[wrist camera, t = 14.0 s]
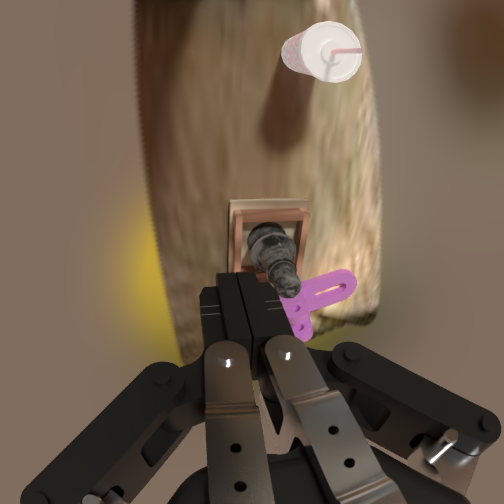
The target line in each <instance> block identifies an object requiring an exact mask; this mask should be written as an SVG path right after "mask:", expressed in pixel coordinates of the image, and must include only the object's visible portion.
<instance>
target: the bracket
mask: <svg viewBox="0 0 504 504" xmlns="http://www.w3.org/2000/svg"><path fill="white" fill-rule="evenodd" d="M341 283H343V284H342V286H340V287H338V288H336V289H333V290H330V291H327V292H324V293H321V294H319V295H315V293H317V292H318V291H321V290H324V289H327V288H330V287H333V286H336V285H338V284H341ZM356 285H357V280H356V278H355V277H354V275H353V274H352V272H351V271H349V270H347V269H339V270H336V271H333V272H330V273H327V274H324V275H321V276H318V277H315V278H312V279H309V280H306V281H303V282H301V290H300V292H299V293H298V295H296V296H295V297H294V298H289V299H287V298H282V297H280V296H279V297H280V301H281V302H282V305H283V309H284V310H285V312H286V315H287V317H288V320H289V322H290V325H291V327H292V330H293V332H294V335H295V337H297V338H299V339H300V340H301V341H303V342H306V341H308V340H309V339H310V338H311V337H312V335H313V328H312V324H311V322H310V319H309V316H310V312H311V311H314V310H317V309H319V308H322V307H325V306H328V305H331V304H333V303H336V302H339V301H342V300H344V299H346V298H348V297H349V296H350V295H351V294H352V293H353V292H354V290H355V288H356ZM299 330H302V331H299Z"/></svg>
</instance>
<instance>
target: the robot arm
mask: <svg viewBox="0 0 504 504" xmlns="http://www.w3.org/2000/svg"><path fill="white" fill-rule="evenodd" d="M199 299H200V314H201V327H202V336H203V345H204V351H203V354H202V355H201V356H200V358H199V359H197V360H196V361H195V362H193V363H191V364H189V365H186V366H183V367H180V368H179V367H178V366H177V365H175V364H173V363H169V362H156V363H153V364H151V365H149V366H148V367H146V368H145V369H144V370H143V371H142V372H141V373H140V374H139V375H138V376H137V377H136V378H135V379H134V380H133V381H132V382H131V383H130V384H129V385H128V386H127V387H126V388H125V389H124V390H123V391H122V392H121V393H120V394H119V395H118V396H117V397H116V398H115V399H114V400H113V401H112V402H111V403H110V404H109V405H108V406H107V407H106V408H105V409H104V410H103V411H102V412H101V413H100V414H99V415H98V416H97V417H96V418H95V419H94V420H93V421H92V422H91V423H90V424H89V425H88V426H87V427H86V428H85V429H84V430H83V431H82V432H81V433H80V434H79V435H78V436H77V437H76V438H75V439H74V440H73V441H72V442H71V443H70V444H69V445H68V446H67V447H66V448H65V449H64V450H63V451H62V452H61V453H60V454H59V455H58V456H57V457H56V458H55V459H54V460H53V461H52V462H51V463H50V464H49V465H48V466H47V467H46V468H45V469H44V470H43V471H42V472H41V473H40V474H39V475H38V476H37V477H36V478H35V479H34V480H33V481H32V482H31V483H30V484H29V485H27V486H26V488H25V489H24V490H23V492H22V494H21V498H20V504H130V503H131V502H132V501H133V499H134V498H135V497H136V496H137V495H138V494H139V492H140V491H141V490H142V489H143V488H144V487H145V485H146V484H147V483H148V482H149V480H150V479H151V478H152V477H153V476H154V475H155V473H156V472H157V471H158V470H159V469H160V467H161V466H162V465H163V464H164V462H165V461H166V460H167V459H168V458H169V456H170V455H171V454H172V453H173V451H174V450H175V449H176V448H177V447H178V445H179V444H180V443H181V442H182V440H183V439H184V438H185V436H186V435H187V434H188V433H189V431H190V430H191V428H192V426H195V425H197V424H200V423H202V422H205V424H206V447H207V466H206V467H204V468H202V469H200V470H198V471H196V472H195V473H193V474H192V475H190V476H189V477H188V478H187V479H186V480H185V481H184V482H183V483H182V484H181V485H180V487H179V488H178V489H177V491H176V492H175V493H174V495H173V496H172V497H171V499H170V500H169V502H168V503H167V504H471V503H470V502H469V500H468V499H467V498H466V497H465V494H466V492H467V489H468V487H469V484H470V481H471V479H472V476H473V473H474V471H475V468H476V465H477V462H478V459H479V456H480V454H481V453H482V452H484V451H485V450H486V449H487V448H488V447H489V446H491V445H492V444H493V443H494V442H495V441H496V440H497V439H498V438H499V436H500V433H501V424H500V421H499V420H498V418H497V416H496V415H495V414H494V413H492V412H491V411H489V410H487V409H485V408H483V407H481V406H479V405H476V404H475V403H473V402H470V401H469V400H466V399H464V398H462V397H460V396H458V395H456V394H454V393H452V392H450V391H449V390H447V389H444V388H443V387H440V386H439V385H437V384H435V383H433V382H431V381H429V380H427V379H425V378H423V377H421V376H419V375H417V374H415V373H413V372H411V371H409V370H407V369H405V368H404V367H402V366H400V365H398V364H396V363H394V362H392V361H390V360H388V359H386V358H385V357H383V356H381V355H379V354H377V353H375V352H373V351H371V350H370V349H368V348H366V347H364V346H362V345H360V344H358V343H354V342H343V343H340V344H338V345H336V346H335V347H334V349H333V351H323V350H316V349H311V348H308V347H306V345H305V344H304V342H303V341H301V340H300V339H299V338H297V337H295V335H294V332H293V330H292V327H291V325H290V322H289V320H288V317H287V315H286V312H285V310H284V309H283V305H282V302H281V301H280V297H279V295H278V292H277V290H276V289H275V288H274V287H273V286H272V285H270V284H269V283H259V282H258V279H257V277H256V274H255V271H244V272H236V273H235V272H230V273H216V286H214V287H204V288H203V290H202V292H201V294H200V296H199ZM252 380H258V381H259V385H260V392H259V397H260V401H261V404H262V406H263V409H264V412H265V415H266V418H267V420H268V423H269V426H270V429H271V431H272V434H273V437H274V440H275V448H276V454H266V447H265V441H264V435H263V429H262V423H261V416H260V411H259V407H258V406H256V403H255V397H254V390H253V383H252ZM366 438H367V439H369V440H371V441H372V442H374V443H376V444H378V445H380V446H382V447H384V448H385V449H387V450H389V451H391V452H393V453H395V454H397V455H399V456H400V457H402V458H404V459H406V460H407V461H408V466H407V465H405V464H403V463H401V462H400V461H398V460H396V459H394V458H393V457H391V456H389V455H387V454H386V453H384V452H382V451H380V450H379V449H377V448H375V447H373V446H370V445H369V444H368V442H367V440H366Z"/></svg>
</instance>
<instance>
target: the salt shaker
mask: <svg viewBox="0 0 504 504" xmlns="http://www.w3.org/2000/svg"><path fill="white" fill-rule="evenodd" d="M247 244H248V248H249V249H250V260H251V263H252V265H253V267H254V268H255V269H256V270H258V271H260V272H262V273H266V276H267V279H268V280H269V281H270V282H271V283H273V285H274V287H275V289H276V290H277V292H278V295H279V296H280V297H282V298H287V299H289V298H294V297H295V296H296V295H298V293H299V292H300V290H301V282H300V280H299V278H298V276H297V274H296V273H297V267H296V264H295V263H294V262H293V260H294V258H295V256H296V245H295V243H294V241H293V240H292V238H291V237H289V236H288V235H286V232H285V230H284V228H283V227H282V226H281V225H279V224H277V223H274V222H264V223H261V224H259V225H257V226H256V227H254V228H253V229H252V230H251V232H250V233H249V236H248V240H247Z"/></svg>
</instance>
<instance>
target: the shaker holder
mask: <svg viewBox="0 0 504 504" xmlns="http://www.w3.org/2000/svg"><path fill="white" fill-rule="evenodd" d="M308 202H309V201H308V200H307V199H306V198H297V199H244V200H230V203H229V254H228V273H230V272H235V273H236V272H244V271H255V274H256V277H257V279H259V278H267V276H266V273H262V272H260V271H258V270H256V269H255V268H254V267H253V265H252V263H251V260H250V249H249V248H248V244H247V240H248V236H249V233H250V232H251V230H252V229H253V228H254V227H256V226H257V225H259V224H261V223H264V222H274V223H277V224H279V225H281V226H282V227H283V228H284V230H285V232H286V235H288V236H289V237H291V238H292V240H293V241H294V243H295V245H296V256H295V258H294V260H293V262H294V263H295V264H296V267H297V273H296V274H297V276H298V275H301V270H302V264H303V258H304V252H305V245H306V239H307V232H308V225H309V218H310V214H309V213H308V211H307V209H308Z"/></svg>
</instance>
